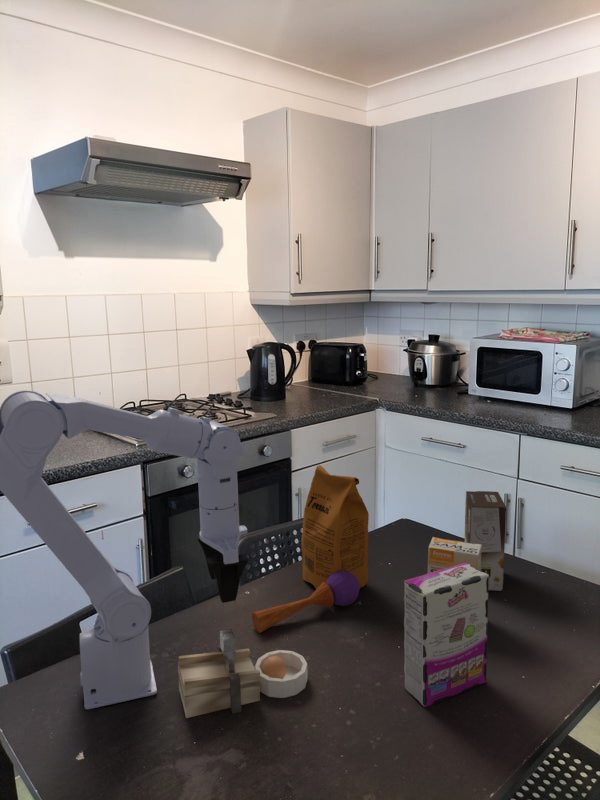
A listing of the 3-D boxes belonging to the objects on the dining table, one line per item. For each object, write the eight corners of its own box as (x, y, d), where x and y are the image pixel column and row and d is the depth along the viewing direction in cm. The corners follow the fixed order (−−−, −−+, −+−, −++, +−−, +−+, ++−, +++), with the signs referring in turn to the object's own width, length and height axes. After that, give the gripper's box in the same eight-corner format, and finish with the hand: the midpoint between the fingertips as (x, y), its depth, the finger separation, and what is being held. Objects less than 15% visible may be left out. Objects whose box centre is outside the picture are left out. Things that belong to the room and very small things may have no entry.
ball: (275, 692, 86) (261, 676, 85) (268, 677, 89) (255, 663, 88) (294, 675, 86) (280, 660, 85) (286, 661, 90) (273, 646, 88)
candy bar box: (462, 664, 91) (466, 560, 88) (487, 683, 86) (491, 574, 84) (400, 688, 86) (402, 578, 83) (423, 709, 81) (426, 594, 78)
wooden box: (187, 724, 79) (185, 688, 78) (177, 685, 87) (175, 651, 86) (263, 706, 83) (262, 670, 82) (247, 669, 91) (246, 636, 90)
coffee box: (504, 591, 112) (507, 507, 109) (467, 590, 113) (470, 506, 110) (495, 569, 121) (498, 490, 118) (462, 567, 122) (464, 490, 119)
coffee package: (335, 564, 124) (334, 458, 120) (375, 588, 114) (376, 473, 110) (293, 577, 119) (291, 467, 115) (333, 604, 109) (331, 484, 105)
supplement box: (425, 620, 103) (426, 546, 101) (430, 606, 107) (431, 535, 105) (476, 630, 100) (478, 554, 98) (479, 615, 104) (482, 542, 102)
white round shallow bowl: (264, 702, 83) (263, 685, 83) (250, 671, 90) (249, 656, 90) (314, 690, 86) (313, 674, 85) (297, 661, 92) (296, 646, 92)
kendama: (245, 600, 103) (344, 563, 112) (252, 634, 103) (349, 594, 113) (261, 609, 98) (362, 569, 107) (267, 645, 98) (368, 602, 108)
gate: (226, 677, 83) (224, 643, 82) (219, 660, 86) (218, 628, 85) (237, 674, 83) (236, 641, 82) (231, 658, 87) (229, 625, 86)
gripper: (258, 516, 85) (261, 606, 88) (234, 485, 99) (237, 564, 101) (207, 523, 83) (212, 616, 86) (190, 490, 97) (194, 571, 99)
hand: (222, 588), depth 93 cm, fingers open, 7 cm apart
